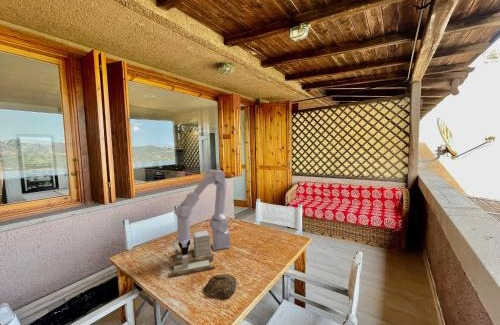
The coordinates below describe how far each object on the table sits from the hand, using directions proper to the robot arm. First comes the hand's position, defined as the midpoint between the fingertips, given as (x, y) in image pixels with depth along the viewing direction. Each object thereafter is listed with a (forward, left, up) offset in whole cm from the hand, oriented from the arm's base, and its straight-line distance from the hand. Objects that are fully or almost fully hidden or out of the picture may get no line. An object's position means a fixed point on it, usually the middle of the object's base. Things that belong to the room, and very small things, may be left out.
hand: (184, 255), depth 109 cm
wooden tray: (-4, 0, -2) cm, 5 cm away
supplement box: (-9, 0, -3) cm, 9 cm away
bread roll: (-13, +28, -3) cm, 31 cm away
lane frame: (-3, +3, -3) cm, 5 cm away
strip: (-3, +9, -2) cm, 10 cm away
